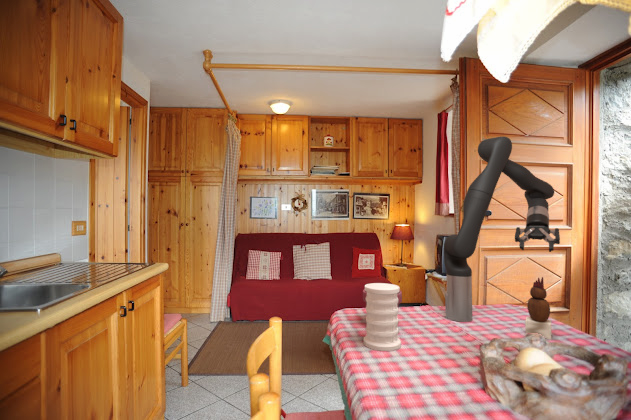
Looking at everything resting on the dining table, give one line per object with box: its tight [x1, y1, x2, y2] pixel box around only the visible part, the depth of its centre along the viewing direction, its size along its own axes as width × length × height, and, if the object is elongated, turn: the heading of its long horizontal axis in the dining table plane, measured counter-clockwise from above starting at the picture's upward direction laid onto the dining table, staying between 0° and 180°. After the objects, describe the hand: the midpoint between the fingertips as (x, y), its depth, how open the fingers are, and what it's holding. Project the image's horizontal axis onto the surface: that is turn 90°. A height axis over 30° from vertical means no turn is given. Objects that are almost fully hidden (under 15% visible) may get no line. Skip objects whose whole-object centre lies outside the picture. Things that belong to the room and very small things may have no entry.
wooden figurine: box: [526, 276, 551, 322], centre depth 110 cm, size 7×6×15 cm
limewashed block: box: [524, 316, 552, 340], centre depth 109 cm, size 7×6×5 cm
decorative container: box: [363, 282, 402, 352], centre depth 102 cm, size 12×12×18 cm
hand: (536, 249), depth 121 cm, fingers open, 8 cm apart
